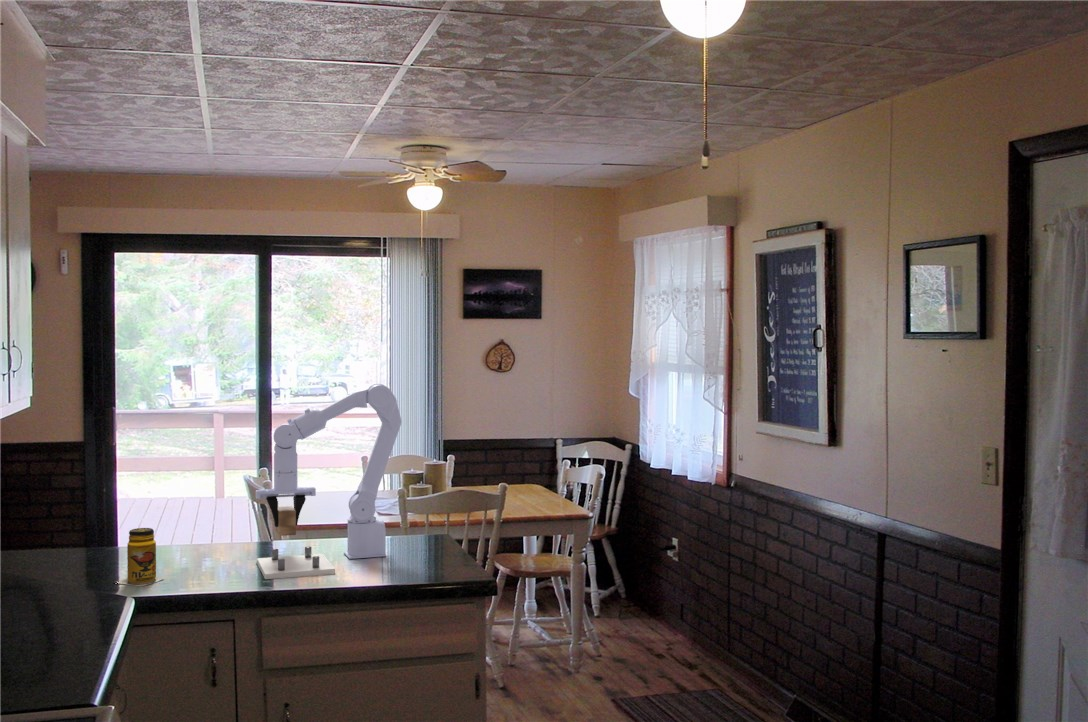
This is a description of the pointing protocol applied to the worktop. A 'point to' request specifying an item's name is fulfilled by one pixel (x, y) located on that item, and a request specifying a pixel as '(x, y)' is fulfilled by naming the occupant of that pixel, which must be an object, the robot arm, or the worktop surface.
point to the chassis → (294, 565)
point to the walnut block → (286, 521)
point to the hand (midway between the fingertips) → (285, 525)
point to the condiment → (141, 558)
